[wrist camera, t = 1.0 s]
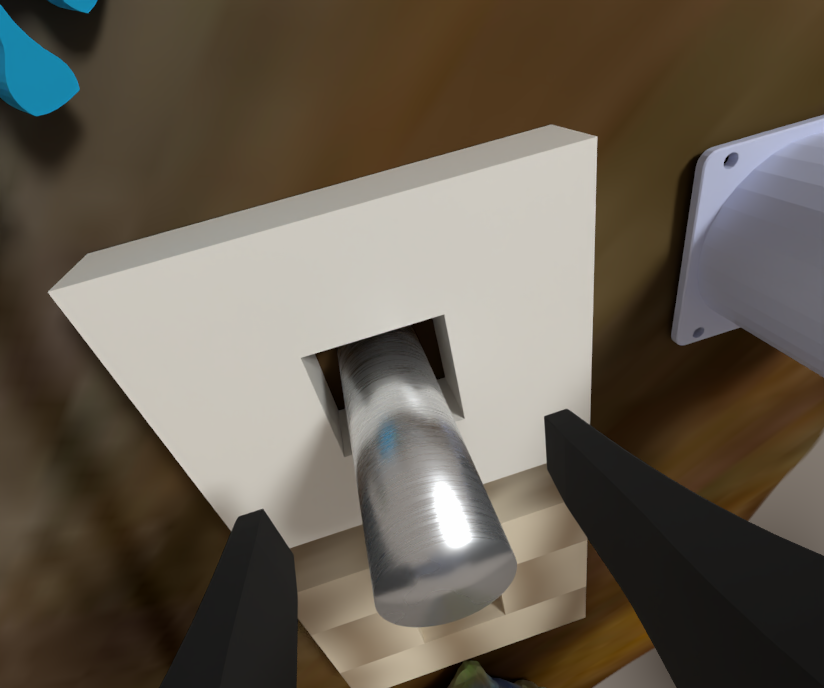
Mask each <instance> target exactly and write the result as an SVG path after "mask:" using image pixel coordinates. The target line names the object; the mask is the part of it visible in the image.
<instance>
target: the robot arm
mask: <svg viewBox="0 0 824 688" xmlns="http://www.w3.org/2000/svg"><path fill="white" fill-rule="evenodd" d="M728 155H729V158H728V160H727V162H726V163H725V164H724V161H725V158H726V157H727V156H728ZM740 327H741V328H743V329H744V330H746V331H748V332H749V333H751V334H753V335H754V336H756V337H758V338H759V339H761V340H763V341H764V342H766V343H768V344H769V345H771V346H773V347H774V348H776V349H778V350H779V351H781V352H783V353H784V354H786V355H788V356H789V357H791V358H793V359H794V360H796V361H797V362H799V363H801V364H802V365H804V366H806V367H807V368H809V369H811V370H812V371H814V372H816V373H817V374H819V375H821V376H822V377H824V115H821V116H818V117H814V118H811V119H807V120H804V121H801V122H797V123H794V124H790V125H787V126H783V127H780V128H776V129H773V130H770V131H766V132H763V133H759V134H756V135H752V136H749V137H745V138H742V139H738V140H735V141H732V142H728V143H725V144H721V145H718V146H714V147H711V148H709V149H707V150H706V151H705V152H704V153H703V154H702V155H701V156H700V158H699V159H698V161H697V165H696V169H695V176H694V183H693V190H692V196H691V203H690V210H689V217H688V224H687V231H686V237H685V244H684V251H683V258H682V265H681V271H680V278H679V285H678V292H677V299H676V306H675V312H674V319H673V326H672V333H671V339H672V340H673V341H674V342H675V343H677V344H678V345H681V346H682V345H687V344H690V343H693V342H696V341H699V340H702V339H706V338H709V337H712V336H715V335H718V334H721V333H724V332H727V331H731V330H734V329H737V328H740ZM544 425H545V442H546V460H547V470H548V472H549V474H550V476H551V478H552V480H553V482H554V484H555V486H556V488H557V490H558V491H559V493H560V495H561V497H562V499H563V501H564V503H565V505H566V506H567V508H568V509H569V511H570V512H571V514H572V516H573V517H574V519H575V520H576V522H577V523H578V525H579V526H580V528H581V529H582V531H583V532H584V534H585V535H586V537H587V538H588V540H589V541H590V543H591V544H592V546H593V547H594V548H595V550H596V551H597V553H598V554H599V556H600V557H601V559H602V560H603V562H604V563H605V565H606V566H607V568H608V569H609V571H610V572H611V574H612V575H613V577H614V578H615V580H616V581H617V583H618V584H619V586H620V587H621V589H622V590H623V592H624V594H625V595H626V597H627V598H628V600H629V602H630V603H631V605H632V607H633V608H634V610H635V612H636V614H637V616H638V617H639V619H640V621H641V623H642V625H643V626H644V628H645V630H646V632H647V634H648V635H649V637H650V639H651V641H652V643H653V645H654V646H655V648H656V650H657V652H658V654H659V656H660V657H661V659H662V661H663V663H664V665H665V667H666V669H667V671H668V672H669V674H670V676H671V678H672V680H673V682H674V684H675V685H676V687H677V688H824V556H823V555H821V554H818V553H816V552H814V551H811V550H809V549H807V548H805V547H802V546H800V545H798V544H795V543H793V542H791V541H789V540H786V539H784V538H782V537H779V536H777V535H775V534H773V533H771V532H769V531H767V530H765V529H763V528H761V527H759V526H756V525H754V524H752V523H750V522H748V521H746V520H744V519H742V518H740V517H738V516H736V515H735V514H733V513H731V512H729V511H727V510H725V509H723V508H721V507H719V506H717V505H715V504H714V503H712V502H710V501H708V500H706V499H704V498H703V497H701V496H699V495H697V494H696V493H694V492H692V491H690V490H689V489H687V488H685V487H684V486H682V485H680V484H678V483H677V482H675V481H673V480H672V479H670V478H668V477H667V476H665V475H664V474H662V473H660V472H659V471H657V470H656V469H654V468H652V467H651V466H649V465H648V464H646V463H645V462H643V461H642V460H640V459H639V458H637V457H636V456H634V455H632V454H631V453H629V452H628V451H626V450H625V449H623V448H622V447H621V446H619V445H618V444H616V443H615V442H613V441H612V440H610V439H609V438H608V437H606V436H605V435H603V434H602V433H600V432H599V431H598V430H596V429H595V428H594V427H592V426H591V425H589V424H588V423H587V422H585V421H584V420H583V419H581V418H580V417H578V416H577V415H576V414H574V413H573V412H572V411H570V410H568V409H564V410H561V411H558V412H555V413H552V414H549V415H546V416H544ZM297 631H298V594H297V582H296V572H295V563H294V554H293V553H292V551H291V550H290V548H289V547H288V545H287V544H286V542H285V541H284V539H283V538H282V536H281V535H280V533H279V532H278V530H277V529H276V527H275V526H274V524H273V523H272V521H271V520H270V518H269V517H268V515H267V514H266V512H265V511H264V509H260V510H257V511H254V512H251V513H248V514H245V515H242V516H239V517H238V518H237V520H236V521H235V524H234V526H233V529H232V531H231V534H230V536H229V538H228V541H227V543H226V546H225V548H224V551H223V553H222V555H221V558H220V560H219V563H218V565H217V567H216V570H215V572H214V574H213V577H212V579H211V581H210V584H209V586H208V588H207V590H206V593H205V595H204V597H203V599H202V602H201V604H200V606H199V608H198V610H197V613H196V615H195V617H194V619H193V621H192V624H191V626H190V628H189V630H188V632H187V634H186V636H185V638H184V640H183V642H182V644H181V646H180V648H179V650H178V652H177V654H176V656H175V658H174V660H173V662H172V664H171V666H170V668H169V670H168V672H167V674H166V676H165V678H164V680H163V681H162V683H161V685H160V687H159V688H296V681H297Z"/></svg>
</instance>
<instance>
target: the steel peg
mask: <svg viewBox="0 0 824 688" xmlns="http://www.w3.org/2000/svg"><path fill="white" fill-rule="evenodd" d="M337 355H338V362H339V369H340V376H341V382H342V389H343V396H344V402H345V409H346V416H347V422H348V429H349V436H350V443H351V449H352V456H353V463H354V469H355V476H356V483H357V489H358V496H359V503H360V510H361V516H362V523H363V530H364V536H365V543H366V550H367V556H368V563H369V570H370V577H371V583H372V590H373V597H374V603H375V608H376V610H377V612H378V613H379V615H380V616H381V617H382V618H384V619H385V620H387V621H388V622H390V623H393V624H396V625H400V626H405V627H430V626H437V625H442V624H446V623H450V622H453V621H457V620H460V619H462V618H465V617H467V616H469V615H472V614H474V613H476V612H478V611H479V610H481V609H483V608H485V607H486V606H488V605H489V604H491V603H492V602H493V601H495V600H496V599H497V598H498V597H499V596H501V595H502V594H503V593H504V592H505V590H506V589H507V588H508V587H509V585H510V584H511V583H512V581H513V579H514V577H515V574H516V571H517V561H516V557H515V555H514V553H513V550H512V548H511V546H510V544H509V541H508V539H507V537H506V535H505V532H504V530H503V528H502V526H501V523H500V521H499V519H498V517H497V514H496V512H495V510H494V508H493V505H492V503H491V501H490V499H489V497H488V494H487V492H486V490H485V488H484V485H483V483H482V481H481V479H480V476H479V474H478V472H477V470H476V467H475V465H474V463H473V461H472V458H471V456H470V454H469V452H468V449H467V447H466V445H465V443H464V440H463V438H462V436H461V434H460V431H459V429H458V427H457V425H456V422H455V420H454V418H453V416H452V413H451V411H450V409H449V407H448V404H447V402H446V400H445V398H444V395H443V393H442V391H441V389H440V386H439V384H438V382H437V380H436V377H435V375H434V373H433V371H432V368H431V366H430V364H429V362H428V359H427V357H426V355H425V353H424V350H423V348H422V346H421V344H420V341H419V339H418V337H417V335H416V333H415V331H414V329H413V328H412V326H411V325H408V326H404V327H401V328H398V329H394V330H391V331H388V332H385V333H381V334H378V335H375V336H371V337H368V338H365V339H361V340H358V341H355V342H352V343H348V344H345V345H342V346H338V347H337Z"/></svg>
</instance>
